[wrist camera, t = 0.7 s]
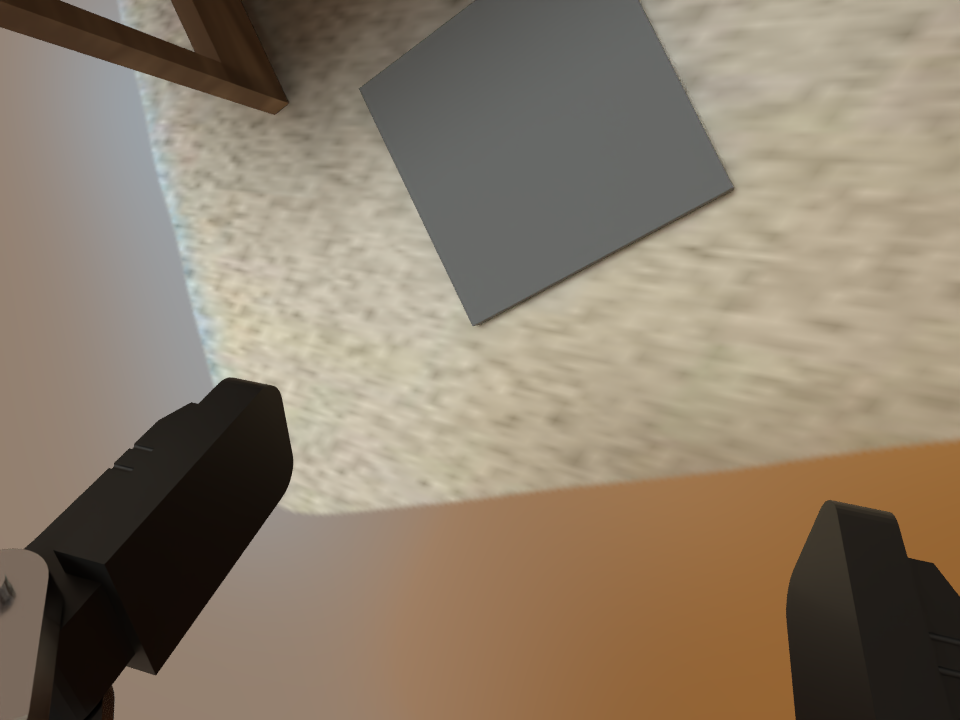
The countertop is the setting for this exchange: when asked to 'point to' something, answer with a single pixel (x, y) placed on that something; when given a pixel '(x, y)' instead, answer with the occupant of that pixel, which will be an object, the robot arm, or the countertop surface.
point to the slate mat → (541, 142)
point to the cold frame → (164, 46)
